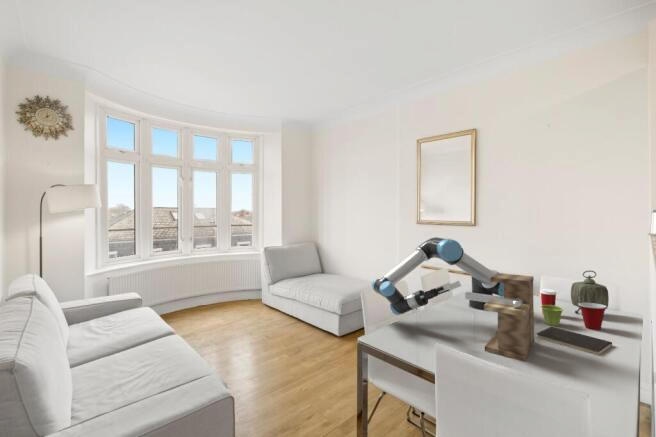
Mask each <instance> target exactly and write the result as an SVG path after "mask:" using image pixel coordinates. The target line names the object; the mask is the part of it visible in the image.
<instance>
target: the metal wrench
mask: <svg viewBox="0 0 656 437" xmlns="http://www.w3.org/2000/svg"><path fill="white" fill-rule="evenodd" d="M464 296H465V298H464V299H465V300H466V301H467V300H468V301H470V300H473V301H480V302H486V303H492V304H499V305H505V306H512V307H513V308H514V309H519V308H521V307H522V303H523V299H521V298H517V299H514V298H507V297H501V296H499V295H494V294H493V295H486V294H479V293H472V291H471V292H470V291H466V292H465V294H464Z"/></svg>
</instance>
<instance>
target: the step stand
mask: <svg viewBox="0 0 656 437" xmlns="http://www.w3.org/2000/svg"><path fill="white" fill-rule="evenodd" d="M534 281H535V280H534V276H533V275H523V274H522V275H521V274H510V273H502V272H501V273H500V272H499V273H496V274H494V275H493V276H491V282H499V283H504V297H507V298H514V299H517V298H521V299H523V303H522V307H521V308H519V309H514V308H513V307H512V306H505V305H499V304H492V303H486V304H484V310H485V311H489V312H490V311H491V312H496V313H497V330H496V332H494V334H493V335H492V336H491V337H490V339H489V340H488V341H487V343H486V344H485V345H484V352H487V353H491V354H496V355H499V356H503V357H507V358H509V359H515V360H519V361H523V362H527V359H528V357H529V354H530V352H531V351H532V348H533V346H534V344H535V325H534V324H535V322H534V319H535V317H534V316H535V315H534V313H535V312H534V311H535V310H534ZM484 310H483V311H484Z"/></svg>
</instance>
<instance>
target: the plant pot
mask: <svg viewBox="0 0 656 437" xmlns="http://www.w3.org/2000/svg"><path fill="white" fill-rule="evenodd" d="M540 308H541V311H542V310H543V313H542V315H543V314H544V315H543V318H544V320H543V321H544V323H545V325H548V326H549V325H550V327H551V326H552V327H558V326H560V323H561V317H562V313H563V311H564V308H562V307H561V306H558V305H557V306H556V305H555V306H553V305H542V304H541V306H540Z"/></svg>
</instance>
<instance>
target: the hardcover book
mask: <svg viewBox="0 0 656 437" xmlns="http://www.w3.org/2000/svg"><path fill="white" fill-rule="evenodd" d="M536 335H537V336H536V337H537V338H539V339H542V340H546V341H549V342H552V343H556V344H558V345H563V346H566V347H569V348H572V349H576V350H580V351H583V352H585V353H589V354H592V355H596V356H599V355H600V354H602V353H603V352H605V351H606V350H607V349H609V348H611V347H613V342H612V341H609V340H606V339H603V338H602V339H601V338H597V337H594V336H591V335H590V336H589V335H586V334H582V333H578V332H574V331H571V330H567V329H563V328H560V327H557V326H551V325H550V326H549V327H547V328H545V329H544V330H543V329H542V330H541V331H539V332H536Z"/></svg>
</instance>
